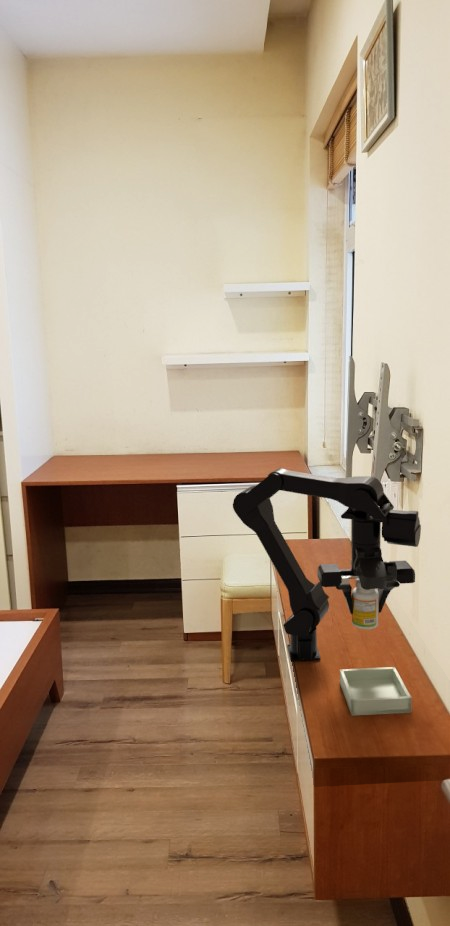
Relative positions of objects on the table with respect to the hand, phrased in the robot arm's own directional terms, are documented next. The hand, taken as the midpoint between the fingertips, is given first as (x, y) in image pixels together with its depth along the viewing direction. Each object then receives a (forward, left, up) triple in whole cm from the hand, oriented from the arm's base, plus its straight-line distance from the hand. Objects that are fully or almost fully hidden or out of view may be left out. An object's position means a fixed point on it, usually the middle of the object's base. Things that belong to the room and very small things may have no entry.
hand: (365, 612), depth 136 cm
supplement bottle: (0, 0, -3) cm, 3 cm away
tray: (+12, -1, -12) cm, 17 cm away
